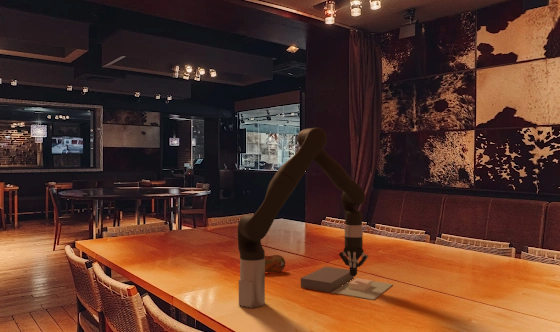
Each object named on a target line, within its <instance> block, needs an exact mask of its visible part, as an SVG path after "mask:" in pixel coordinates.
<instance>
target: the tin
mask: <svg viewBox="0 0 560 332" xmlns="http://www.w3.org/2000/svg"><path fill="white" fill-rule="evenodd" d="M285 266H286V261H285V258H284V257H283V256H281V255H279V254H268V255H266V254H265V272H278V273H280V272H279V271H281V272H283V270H284V269H285Z"/></svg>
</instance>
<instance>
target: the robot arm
mask: <svg viewBox="0 0 560 332" xmlns="http://www.w3.org/2000/svg"><path fill="white" fill-rule="evenodd" d="M327 136H328V135H327V133H326V131H325V130H324V129H323V128H320V127H310V128H304V129H302V130H301V131H300V132H299V133H298V134H297V137H296V138H297V139H296V140H297V144H298V146H299V147H300V148H298V151H297V152H296V153H295V154H293V156H292V157H291V158H289V159H287V161H286V162H285V163H284V164H282V165H281V166H280V167H279V168H278V170H276V172H275V174H274V175H273V176H272V178H271V180H270V181H269V183H268V186H267V189H266V194H265V197H264V199H263V202H262V203H261V205H260V206H259V207H258V209H257V210H256V211H255V213H254V214H253V213H252V214H251V213H250V214H249V213H248V214H244V215H243V216H242V217H240V219H239V221H238V224H237V248H238V251H239V280H238V306H239V305H241V306H240V307H243V306H246V307H245V308H248V307H250V308H249V309H253V307H254V308H260V307H263V306H264V305H265V304H266V300H265V299H266V295H265V294H266V293H265V291H266V290H265V289H266V285H265V284H266V276H265V256H266V253H265V249H264V247H263V244H262V239H264V238H265V237H266V235H267V234H268V232H269V231H270V229H271V227H272V225H273V223H274V221H275V219H276V217H277V216H278V214H279V212H280V211H281V209H282V208H283V206H284V205H285V203H286V201H287V200H288V199H289V198H290V196H291V195H292V193H293V191H294V190H295V189H296V187H297V186H298V184H299V182H300V180H301V179H302V177H303V176H304V174H306V172H307V170H308V168H309V167H310V166H311V164H312V163H313V161H314V163H316V164H317V165H318V166H319V168H321V170H322V171H323V172H324V173H325V174H326V175H327V177H328V178H329V179H330V181H331V182H332V183H333V185H334V187H336V189H338V190H340V191H342V194H341V201H342V202H341V203H342V207H343V212H344V214H345V215H344V248H343V251H341V252H339V253H338V256H339V257H340V259H341V260H342V261H343V263H344V264H345V265H346V266H348V267H349V270H350V275H351V276H354V278H356V276H357V275H358V268H359V267H361V266H363V264H364V263H365V262H366V261H367V260H368V258H369V255H368V254H366V253H365V252H364V248H363V245H364V244H363V242H364V241H363V239H364V238H363V235H364V233H363V214H362V211H360V210H359V209H358V208H357V206H361V205H363V204H364V203H365V202H366V192H365V191H364V190H363V188H362V187H361V186H360V185H359V184H358V183H357V182H355V180H353V179H352V178H351V177H350V175H349V174H348V173H347V171H346V170H345V169H344V168H343V167H344V166H342V165H341V164H340V163H338V162H337V161H336V159H334V158H333V157H331V156H330V155H329V154H328V153H327V152H326V151H325V149H324V147H326V144H327V141H328V139H327V138H328V137H327ZM360 258H361V259H360ZM259 306H260V307H259Z"/></svg>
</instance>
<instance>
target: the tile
mask: <svg viewBox="0 0 560 332" xmlns="http://www.w3.org/2000/svg"><path fill="white" fill-rule="evenodd" d="M372 281H373V280H372V279H371V280H370V279H366V278H365V279H364V278H359V277H355V279H354V280H352V281H351V282H349V283H348V289H353V290H359V291H366V290H367V289H368V288H370V287H371V286H372Z"/></svg>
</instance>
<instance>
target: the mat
mask: <svg viewBox="0 0 560 332" xmlns="http://www.w3.org/2000/svg"><path fill="white" fill-rule="evenodd" d="M354 279H356V277H354ZM354 279H353V280H354ZM351 281H352V280H351ZM351 281H349V282H351ZM349 282H348V283H349ZM348 283H346V284H344V285H343V286H341V287H339V288H338V289H336V290H334V291H333V292H331V294H335V293H337V294H336V295H341V294H343V295H342V296H346V295H348V296H347V297H352V296H354V298H358V297H359V298H358V299H363V298H364V300H370V301H374V300H376V299H377V298H378V297H379V296H381V295H383V294H384V293H385V292H386V291H387V290H389V289H390V288H391V287H393V284H394V283H387V282H380V281H373V280H372V286H371V287H370V288H368V289H367V290H366V291H359V290H353V289H348Z"/></svg>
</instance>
